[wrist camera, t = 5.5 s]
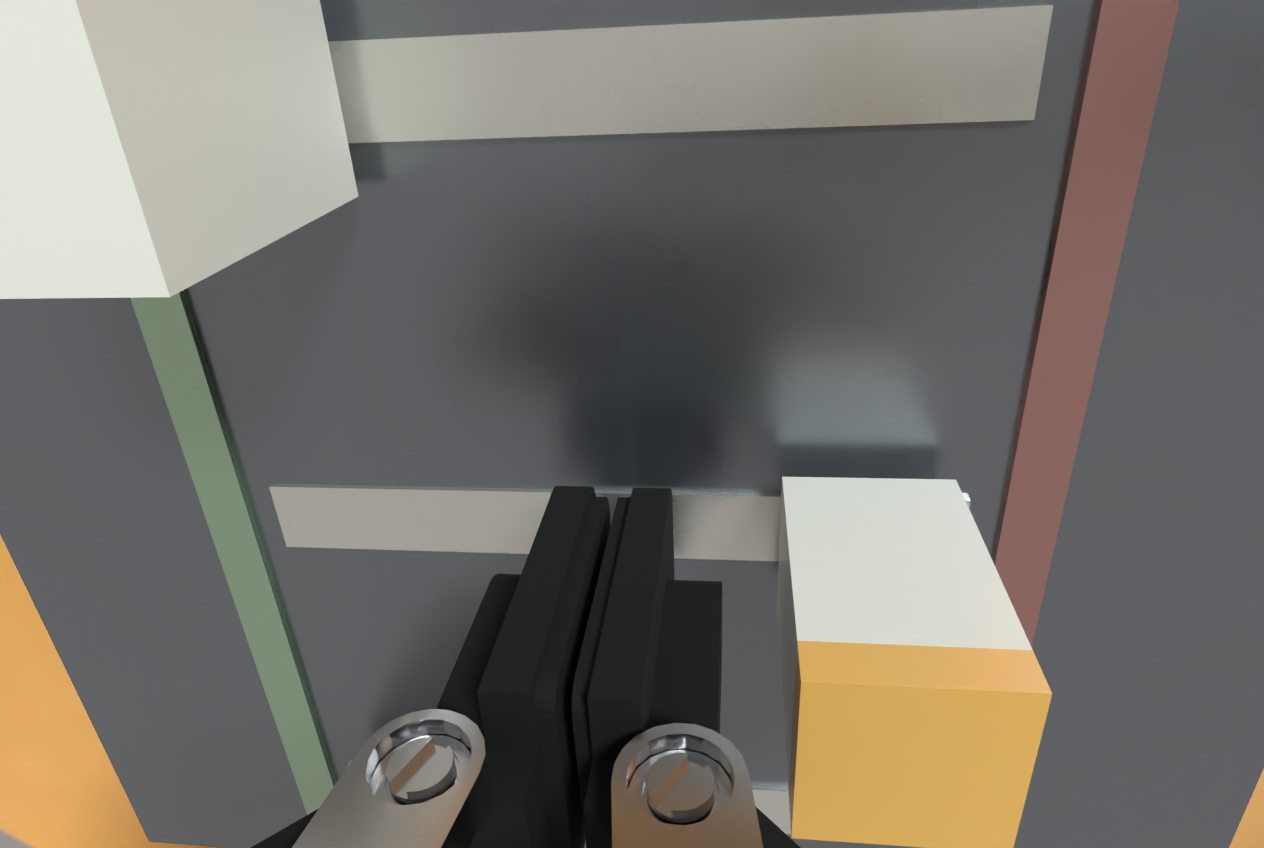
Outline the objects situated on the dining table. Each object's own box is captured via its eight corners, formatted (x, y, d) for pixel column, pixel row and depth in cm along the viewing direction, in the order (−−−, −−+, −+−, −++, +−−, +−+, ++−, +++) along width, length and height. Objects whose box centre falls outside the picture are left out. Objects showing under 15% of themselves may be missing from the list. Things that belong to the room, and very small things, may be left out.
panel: (1528, -208, 9) (1723, -258, 8) (1150, 830, 18) (1198, 929, 16) (-153, -82, 12) (-315, -96, 10) (200, 768, 20) (146, 846, 18)
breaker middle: (956, 479, 12) (1053, 694, 8) (935, 613, 13) (1012, 854, 9) (781, 476, 12) (800, 682, 8) (776, 607, 13) (791, 838, 9)
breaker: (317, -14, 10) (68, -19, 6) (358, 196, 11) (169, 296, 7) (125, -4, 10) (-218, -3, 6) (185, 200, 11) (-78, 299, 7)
